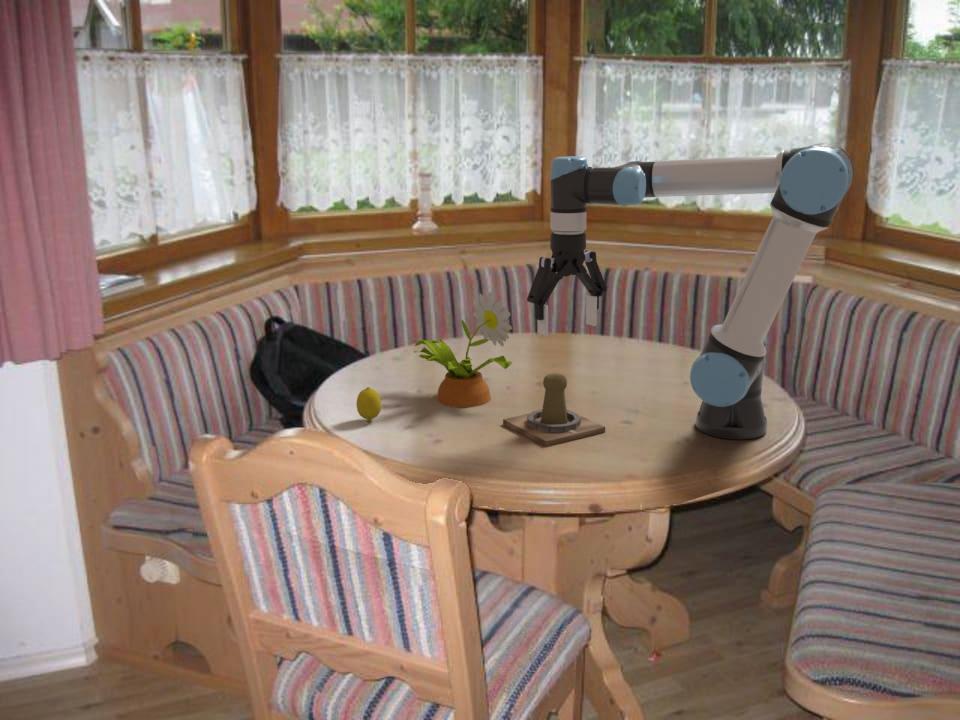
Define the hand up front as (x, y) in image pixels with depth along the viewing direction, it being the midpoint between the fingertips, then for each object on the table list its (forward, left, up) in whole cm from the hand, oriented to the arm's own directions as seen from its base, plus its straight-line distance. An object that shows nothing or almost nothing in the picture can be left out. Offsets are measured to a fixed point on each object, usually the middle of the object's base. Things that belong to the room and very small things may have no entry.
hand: (567, 329), depth 212 cm
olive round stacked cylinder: (-1, +4, -21) cm, 21 cm away
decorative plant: (+28, +11, -22) cm, 37 cm away
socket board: (-1, +4, -22) cm, 22 cm away
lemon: (+25, +36, -22) cm, 49 cm away
